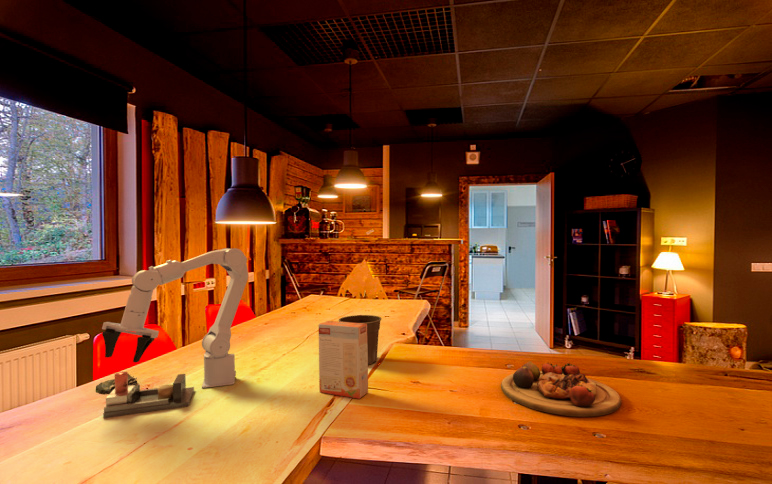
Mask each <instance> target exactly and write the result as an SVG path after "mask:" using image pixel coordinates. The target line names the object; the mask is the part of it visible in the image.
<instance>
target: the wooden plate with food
mask: <svg viewBox="0 0 772 484" xmlns="http://www.w3.org/2000/svg"><path fill="white" fill-rule="evenodd" d="M500 388H501V391H502V392H503V394H504V395H505V396H506V397H508V399H510V400H511V401H513V402H515V403H516V404H519V405H522V406H524V407H527V408H530V409H532V410H536V411H540V412H544V413H548V414H553V415H558V416H567V417H581V418H582V417H583V418H584V417H586V418H587V417H589V418H590V417H600V416H605V415H609V414H612V413H614V412H616V411H618V410H619V408H621V406H622V398H621V396H620V394H619V393H618V392H617V391H616V390H615V389H614V388H612V387H610V386H608V385H607V384H605V383H603V382H600V381H597V380H594V379H591V378H589V377H586V374H585V373H584V374H583V373H581V371H580V368H579V366H577V365H575V364H571V363H569V362H568V363H566V364H564V365H562V366H559V365H558V364H554V365H553V364H552V363H549V362H546V363H543V364H542V365H541V370H540V368H539V366H537V365H536V363H534V362H532V361H531V360H530V361H528V362H526V363H524V364H523V365H522V366H521V367H519V368H518V369H516V370H515V371H514V372H513V373H511V374H509V375H507V376H505V377H504V378H503V379H502V380H501V384H500Z"/></svg>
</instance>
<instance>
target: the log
mask: <svg viewBox="0 0 772 484" xmlns="http://www.w3.org/2000/svg"><path fill="white" fill-rule="evenodd" d="M131 375H132V374H129V373H128V386H133V385H138V384H137V383H138V380H137V378H138V377H135V376H134V375H133V376H131ZM114 389H115V378H114V379H113V378H112V379H108V380H105V381H103V382H102V381H101V382H100V383H98V384H97V385H96V386H95V393H98V394H99V395H109V394H110V393H111V392H112V391H113V390H114Z"/></svg>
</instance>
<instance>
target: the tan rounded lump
mask: <svg viewBox="0 0 772 484" xmlns="http://www.w3.org/2000/svg"><path fill="white" fill-rule="evenodd" d="M157 388H158V400H160V399H168V398H169V399H171V398H173V384H164V385H161V386H159V387H157Z"/></svg>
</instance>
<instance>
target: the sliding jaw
mask: <svg viewBox="0 0 772 484" xmlns="http://www.w3.org/2000/svg"><path fill="white" fill-rule="evenodd" d="M128 374H129V373H128V372H127V371H120V372H119V371H118V372H116V373H114V379H115V389H114V390H113V391H112V392H111V393H110V394H107V396H106V397H105V407H106V406H114V405H122V404H129V403H134V402H135V401H136V400H137V398H138V397H139V395H140V390H141V385H140V384H136V385H133V386H128Z"/></svg>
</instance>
